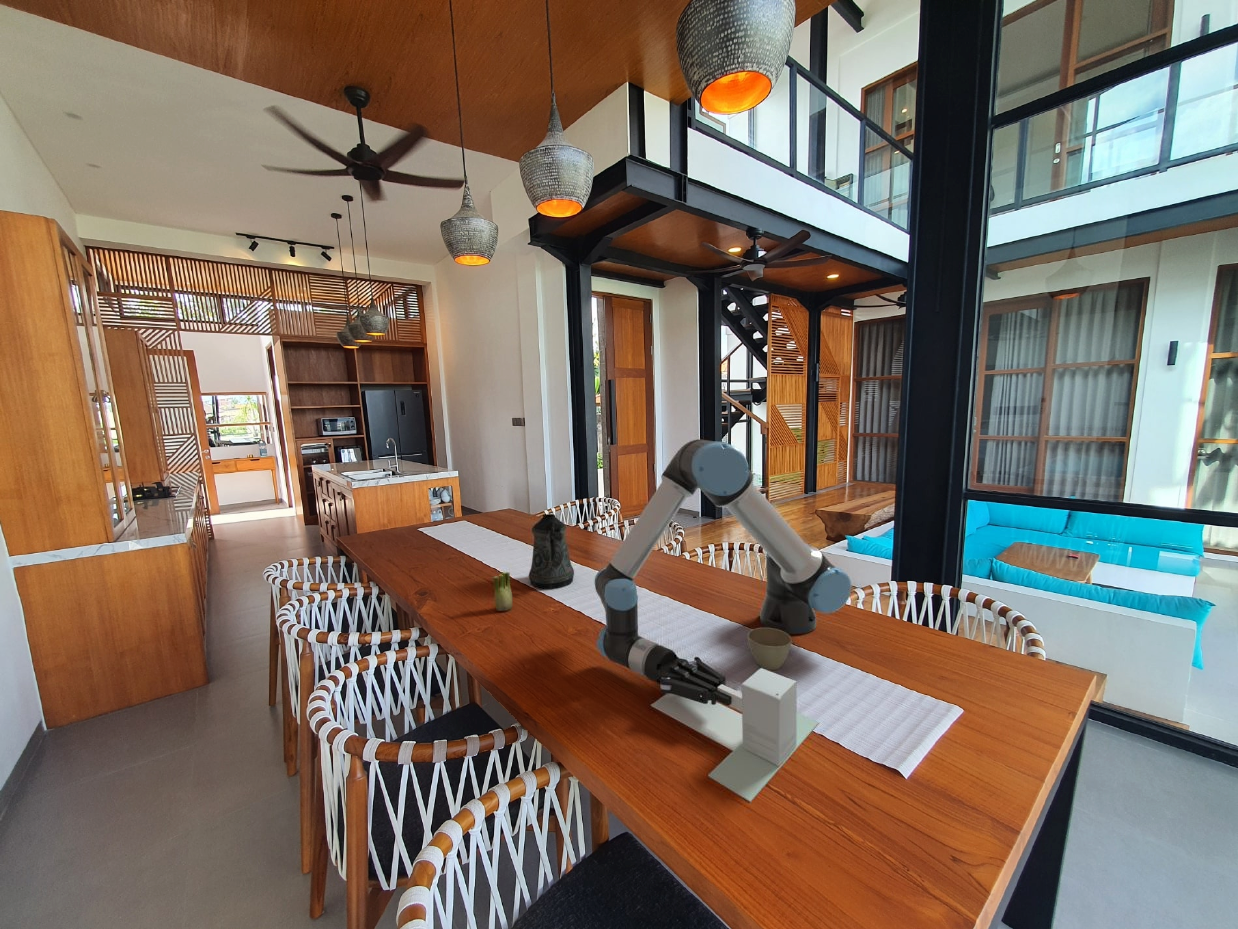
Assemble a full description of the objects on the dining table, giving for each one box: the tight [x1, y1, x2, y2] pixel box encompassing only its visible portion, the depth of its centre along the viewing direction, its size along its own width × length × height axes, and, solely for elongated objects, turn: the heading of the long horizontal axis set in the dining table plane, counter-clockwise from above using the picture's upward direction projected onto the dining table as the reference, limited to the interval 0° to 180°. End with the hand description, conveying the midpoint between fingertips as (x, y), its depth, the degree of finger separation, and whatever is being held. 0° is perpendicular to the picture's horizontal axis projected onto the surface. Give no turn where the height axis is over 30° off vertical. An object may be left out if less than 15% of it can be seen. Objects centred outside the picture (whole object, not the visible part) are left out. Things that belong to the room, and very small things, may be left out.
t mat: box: [650, 693, 820, 803], centre depth 95 cm, size 28×26×1 cm
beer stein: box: [528, 513, 575, 590], centre depth 174 cm, size 16×19×25 cm
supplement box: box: [741, 667, 798, 766], centre depth 87 cm, size 7×7×13 cm
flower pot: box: [747, 627, 793, 671], centre depth 115 cm, size 10×10×7 cm
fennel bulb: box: [493, 571, 513, 612], centre depth 152 cm, size 6×5×12 cm
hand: (749, 705), depth 90 cm, fingers closed
